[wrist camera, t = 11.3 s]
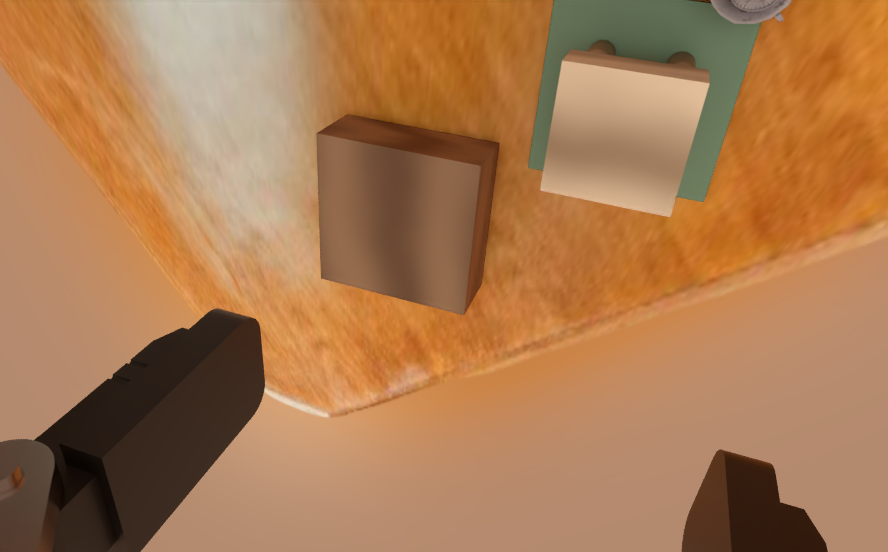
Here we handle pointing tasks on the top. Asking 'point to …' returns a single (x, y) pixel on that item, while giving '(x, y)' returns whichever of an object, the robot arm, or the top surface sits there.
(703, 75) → the cream studded brick
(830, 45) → the top surface
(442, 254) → the brown square block
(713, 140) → the pad
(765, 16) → the camera
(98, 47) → the top surface
